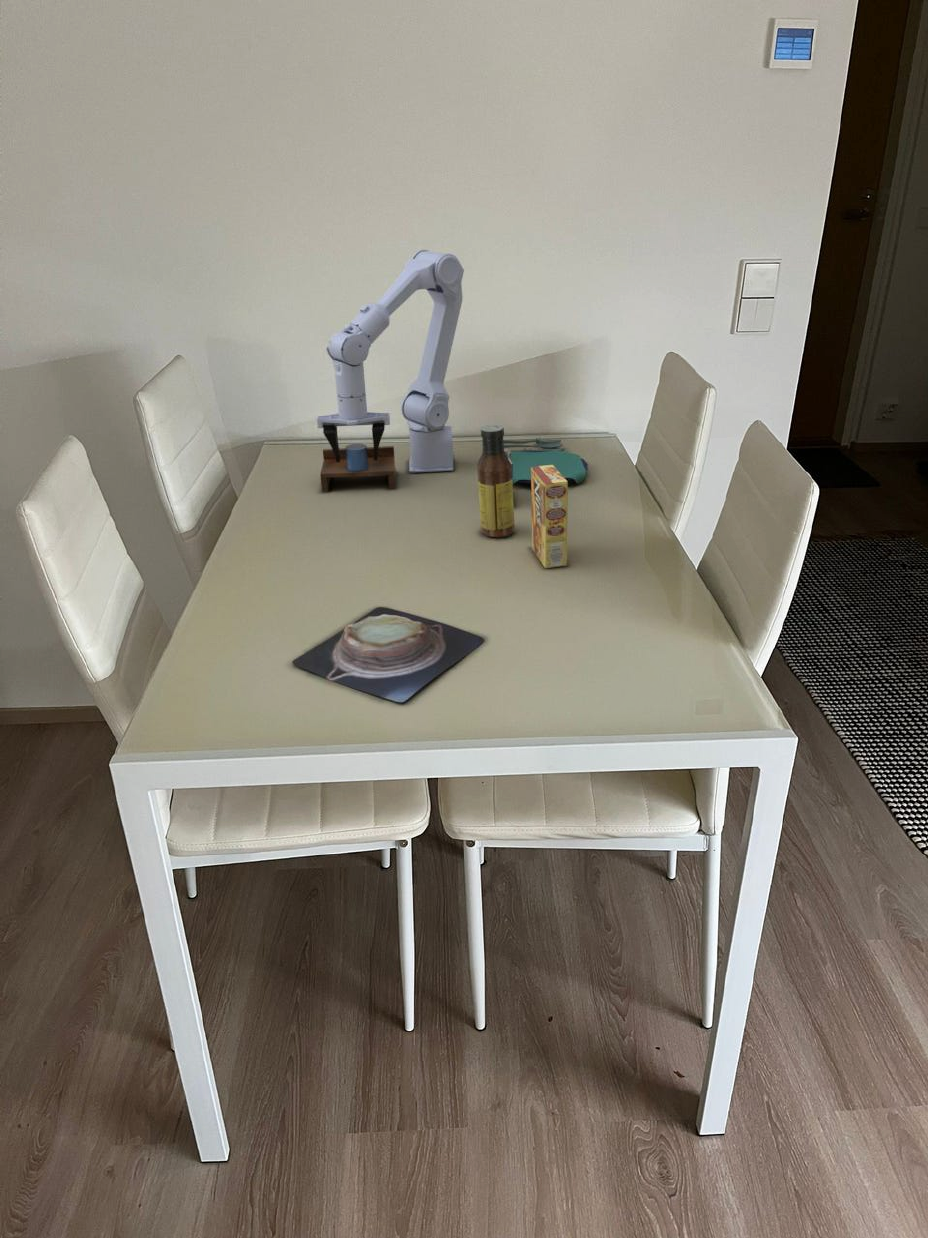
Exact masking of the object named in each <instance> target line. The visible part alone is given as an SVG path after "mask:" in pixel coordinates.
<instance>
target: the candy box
mask: <svg viewBox="0 0 928 1238" xmlns="http://www.w3.org/2000/svg"><path fill="white" fill-rule="evenodd" d="M530 491H531V492H530V493H531V496H530V497H531V499H530V500H531V503H530V504H531V549H532V550H533V552H534V554H535V555H536V557H537V559H538V560H539V561H540V563H541V564H542V566H543V567H544V568H545V569H551V568H557V567H566V566H567V565H568V509H569V508H568V506H569V505H568V504H569V503H568V500H569V494H568V493H569V492H568V491H569V480H568V481H567V480H566V479H565V478H564V477H563V476H562V474H561V473H560V472H559V471H558V470H557V469H556V468H555V467H554V466H553V465H545V466H536V467H531V484H530Z"/></svg>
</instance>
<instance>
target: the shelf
mask: <svg viewBox="0 0 928 1238" xmlns="http://www.w3.org/2000/svg"><path fill="white" fill-rule="evenodd" d="M339 451H340V462H336V458H335V455H334V452H333V450H332V448H323V449H322V457H323V461H322V464H321V470H320V474H319V475H320V484H321V492H322V493H328V492H329V489H330V485H331V479H332V478H342V477H343V478H345V477H346V478H347V477H363V476H364V477H365V476H366V477H367V476H387V479H388V489H389V490H396V473H397V472H396V460H395V459H396V458H395V446H394V445H389V446H388V445H386V446H385V445H384V446H379V448H378V455H377V456H378V458H377V460H374V456H373V455H374V446H367V455H368V468H367V469H366V470H363V471H350V470H348V469H347V461H346V450H345V447H339Z"/></svg>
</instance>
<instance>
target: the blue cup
mask: <svg viewBox="0 0 928 1238" xmlns="http://www.w3.org/2000/svg"><path fill="white" fill-rule="evenodd" d="M367 447H368V446H367V444H365V443H351V444H347V445H346V446H345V447H344V448H345V450H346V461H347V469H348V470H350V471H363V470H366V469H367V468H368V455H367Z"/></svg>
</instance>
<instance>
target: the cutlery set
mask: <svg viewBox="0 0 928 1238" xmlns="http://www.w3.org/2000/svg"><path fill="white" fill-rule="evenodd" d="M531 443H535V445H534V444H531ZM503 444H504V448H505V449H509V448H522V449H518V450H515V449H514V450H509V451H510V452H511V456H510V460H511V461H512V463H513V485H514V484H515V483H523V484H529V485H531V467H536V466H545V465H553V466H554V467H555V468H556V469H557V470H558V471H559V472H560V473H561V474H562V476H563V477H564V478H565V479H566V480H567V481H568V482H569V481H572V480H574V481H575V483H576V484H577V485H579V484H580V483H581V482H582V481H583V480H584V479H585V478H586V476H587V471H588V467H589V466H588V465H589V463H588V462H587V461H586V460H585V459H584V458H582V457H581V455H579V454H576V453H572V452H568V451H565V448H562V447H563V446H564V443H562V439H546V438H545V439H543V438H540V437H539V438H538V437H536V438H535V439H527V440H516V439H515V440H512V439H503ZM532 448H540V449H532Z"/></svg>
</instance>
